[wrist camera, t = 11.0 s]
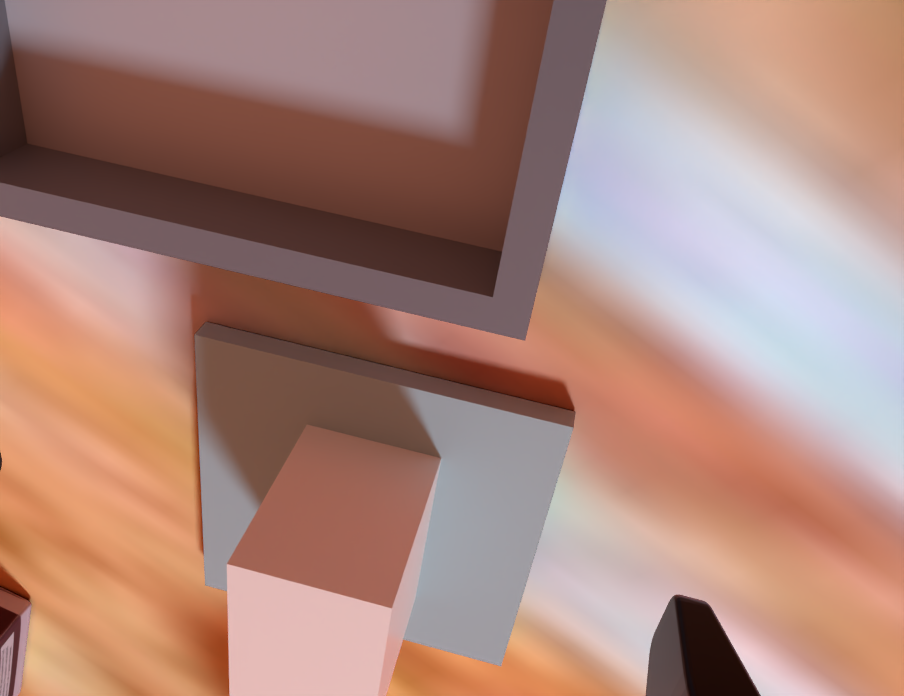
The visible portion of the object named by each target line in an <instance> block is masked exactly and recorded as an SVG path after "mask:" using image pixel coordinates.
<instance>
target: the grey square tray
mask: <svg viewBox="0 0 904 696" xmlns="http://www.w3.org/2000/svg"><path fill="white" fill-rule="evenodd" d="M605 5H606V0H0V216H1V217H5V218H10V219H14V220H18V221H22V222H27V223H31V224H35V225H39V226H43V227H48V228H52V229H56V230H60V231H65V232H69V233H73V234H77V235H81V236H86V237H90V238H94V239H98V240H103V241H107V242H111V243H115V244H119V245H124V246H128V247H132V248H136V249H141V250H145V251H149V252H153V253H157V254H162V255H166V256H170V257H174V258H179V259H183V260H187V261H191V262H195V263H200V264H204V265H208V266H212V267H217V268H221V269H225V270H229V271H233V272H238V273H242V274H246V275H250V276H255V277H259V278H263V279H267V280H271V281H276V282H280V283H284V284H288V285H293V286H297V287H301V288H305V289H309V290H314V291H318V292H322V293H326V294H331V295H335V296H339V297H343V298H347V299H352V300H356V301H360V302H364V303H369V304H373V305H377V306H381V307H385V308H390V309H394V310H398V311H402V312H407V313H411V314H415V315H419V316H423V317H428V318H432V319H436V320H440V321H445V322H449V323H453V324H457V325H461V326H466V327H470V328H474V329H478V330H483V331H487V332H491V333H495V334H499V335H504V336H508V337H512V338H516V339H521V340H525V338H526V334H527V330H528V326H529V322H530V318H531V313H532V309H533V305H534V301H535V297H536V293H537V288H538V284H539V280H540V276H541V272H542V268H543V263H544V259H545V255H546V251H547V247H548V242H549V238H550V234H551V230H552V226H553V222H554V217H555V213H556V209H557V205H558V201H559V197H560V192H561V188H562V184H563V180H564V176H565V172H566V167H567V163H568V159H569V155H570V151H571V146H572V142H573V138H574V134H575V130H576V126H577V121H578V117H579V113H580V109H581V105H582V101H583V96H584V92H585V88H586V84H587V80H588V76H589V71H590V67H591V63H592V59H593V55H594V50H595V46H596V42H597V38H598V34H599V30H600V25H601V21H602V17H603V13H604V9H605Z"/></svg>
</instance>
